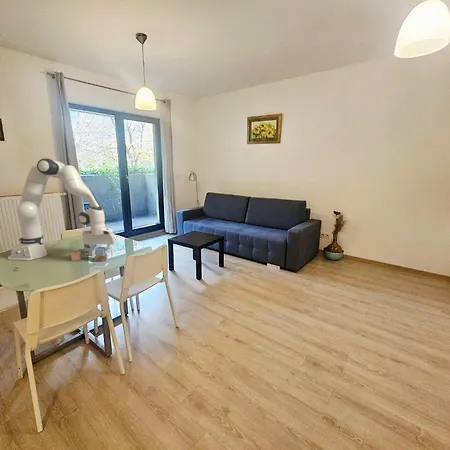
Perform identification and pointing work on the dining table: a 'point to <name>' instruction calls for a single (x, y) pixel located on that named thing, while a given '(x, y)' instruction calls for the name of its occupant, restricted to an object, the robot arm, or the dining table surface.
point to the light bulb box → (88, 249)
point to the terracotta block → (76, 255)
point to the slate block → (100, 251)
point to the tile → (101, 264)
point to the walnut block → (101, 258)
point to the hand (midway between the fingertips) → (99, 250)
